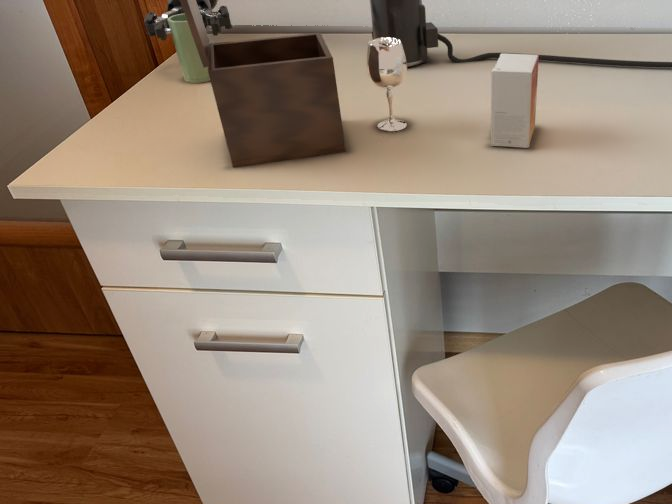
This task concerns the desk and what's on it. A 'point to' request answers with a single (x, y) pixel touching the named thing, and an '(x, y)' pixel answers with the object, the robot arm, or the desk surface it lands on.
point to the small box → (513, 100)
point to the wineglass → (387, 73)
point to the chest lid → (197, 30)
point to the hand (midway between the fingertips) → (188, 31)
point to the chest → (276, 98)
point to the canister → (187, 50)
